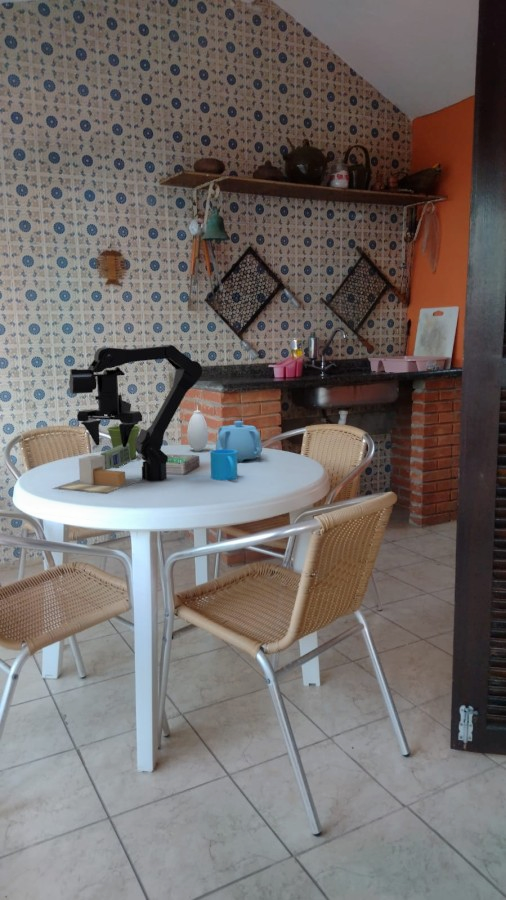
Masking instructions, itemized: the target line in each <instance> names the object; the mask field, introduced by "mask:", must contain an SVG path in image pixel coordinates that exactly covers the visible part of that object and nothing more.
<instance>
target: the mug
mask: <svg viewBox="0 0 506 900" xmlns="http://www.w3.org/2000/svg"><path fill="white" fill-rule="evenodd" d="M210 478H211V480H216V481H232V480H236V479H237V478H238V462H237V451H236V450H230V449H219V450H216V449H213V450H210Z"/></svg>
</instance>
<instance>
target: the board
mask: <svg viewBox="0 0 506 900" xmlns="http://www.w3.org/2000/svg"><path fill="white" fill-rule="evenodd" d="M140 481H141V479H131V478H125V484H123V485H120V486H113V485H102V484H89V485H100V486H111V487H119V489H117V490H118V491H119V490H121V489H122V488H125V487H128V486H130V485H132V484H135V483H138V482H140ZM70 483H78V484H81V483H80V478H79V479H77V480H73V481H71V482H68V483H64V484H61V485H59V486H55V487H53V488H52V490H61V491H67V490H66V489H59V487H62V486H65V485H68V484H70ZM117 490H116V491H117ZM68 491H71V492H77V491H76V490H68ZM79 492H81V493H88V492H87V491H79ZM112 492H114V491H112ZM112 492H111V493H112ZM89 493H91V494H98V493H97V492H89ZM99 494H101V495H106V494H108V493H99Z"/></svg>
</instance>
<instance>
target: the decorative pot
mask: <svg viewBox="0 0 506 900" xmlns="http://www.w3.org/2000/svg"><path fill="white" fill-rule="evenodd" d="M217 430H218V433H217V434H218V436H217V438H216V442H215V450H219V449H230V450H236V451H237V463H244V460H256V458H257V457H260V456H261V453H262V451H263V443H262V440H261V434H260V432H259V430H258V429H257V427H256V426H254V425H250V424H249V425H247V424H244V420H234V421H233V424H229V425H222V426H220V427H219V428H218V429H217Z"/></svg>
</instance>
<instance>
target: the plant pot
mask: <svg viewBox="0 0 506 900" xmlns="http://www.w3.org/2000/svg"><path fill="white" fill-rule="evenodd" d="M140 429H141V426H139V425H134V427H133V428H132V430H131V433H130V436H129V439H128V442H127V443H129V447H130V459H131V460H133V459H135V458H136V455H137V451H136V449H135V444H136V442H137V441H135V439H136V438H137V437H138V436H139V434H140ZM106 430H107V431H108V434H109V437H110V442H111V446H112V448H114V447H117V446H119V445H121V444H122V441H121V434H120V427H119V425H114V426H109V427H107V428H106Z"/></svg>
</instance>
